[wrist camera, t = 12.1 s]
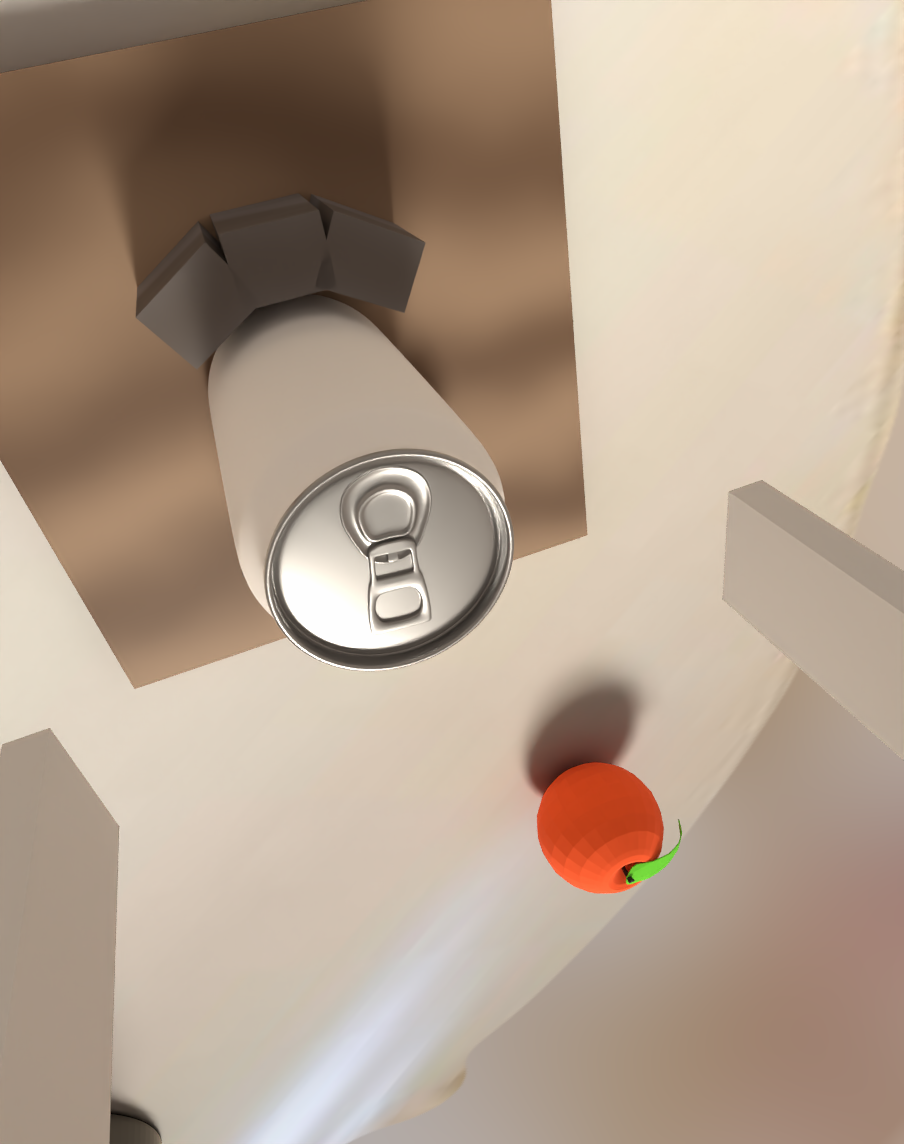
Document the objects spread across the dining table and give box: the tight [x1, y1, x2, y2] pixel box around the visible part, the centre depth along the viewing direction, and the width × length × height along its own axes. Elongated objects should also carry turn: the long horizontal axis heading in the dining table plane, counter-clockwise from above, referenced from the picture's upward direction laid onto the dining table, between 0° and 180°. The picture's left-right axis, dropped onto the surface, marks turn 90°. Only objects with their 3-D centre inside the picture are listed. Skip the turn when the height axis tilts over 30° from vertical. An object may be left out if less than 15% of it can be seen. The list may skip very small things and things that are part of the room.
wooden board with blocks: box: [0, 0, 587, 689], centre depth 25 cm, size 20×20×5 cm
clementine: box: [537, 762, 682, 893], centre depth 42 cm, size 8×7×7 cm
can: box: [208, 294, 514, 671], centre depth 21 cm, size 6×6×12 cm
